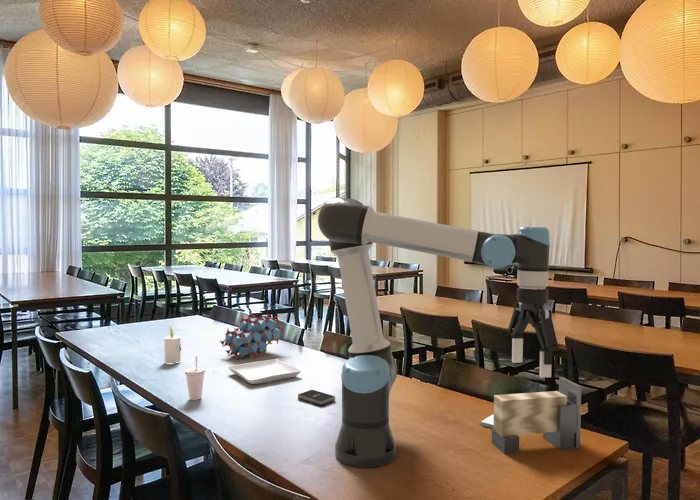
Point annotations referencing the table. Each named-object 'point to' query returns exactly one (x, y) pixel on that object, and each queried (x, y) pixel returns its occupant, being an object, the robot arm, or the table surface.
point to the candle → (172, 348)
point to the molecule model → (252, 336)
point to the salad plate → (264, 371)
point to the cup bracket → (567, 417)
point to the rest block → (505, 442)
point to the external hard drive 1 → (316, 397)
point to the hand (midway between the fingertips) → (530, 369)
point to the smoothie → (195, 381)
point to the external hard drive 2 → (488, 422)
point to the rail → (527, 412)
